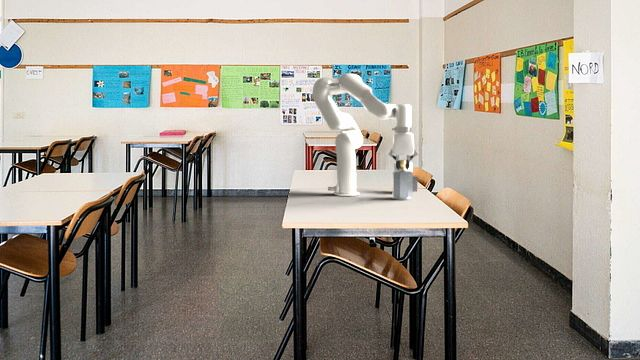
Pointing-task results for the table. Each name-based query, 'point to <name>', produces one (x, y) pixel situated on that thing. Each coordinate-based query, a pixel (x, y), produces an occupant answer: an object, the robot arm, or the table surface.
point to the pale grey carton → (404, 185)
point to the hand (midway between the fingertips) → (402, 169)
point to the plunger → (402, 165)
